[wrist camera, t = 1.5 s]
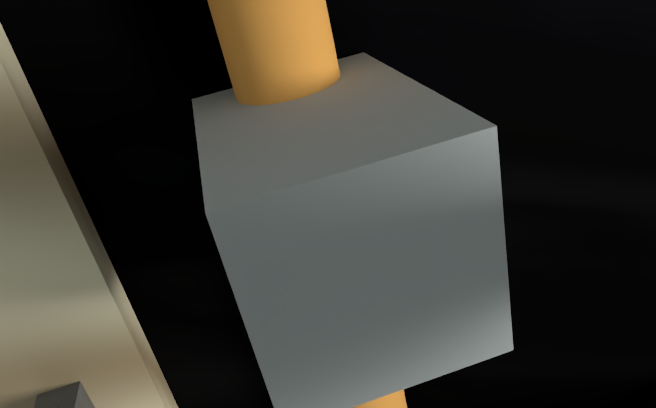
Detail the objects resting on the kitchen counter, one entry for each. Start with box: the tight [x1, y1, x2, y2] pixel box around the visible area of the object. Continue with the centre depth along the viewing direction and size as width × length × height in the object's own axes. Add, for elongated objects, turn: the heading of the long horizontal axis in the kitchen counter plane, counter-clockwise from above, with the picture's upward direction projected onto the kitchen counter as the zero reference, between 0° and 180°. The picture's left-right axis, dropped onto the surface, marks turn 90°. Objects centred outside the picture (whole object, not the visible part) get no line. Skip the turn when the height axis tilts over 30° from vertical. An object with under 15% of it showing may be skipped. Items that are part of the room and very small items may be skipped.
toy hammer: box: [192, 0, 513, 408], centre depth 11 cm, size 21×4×6 cm, turn 13°
